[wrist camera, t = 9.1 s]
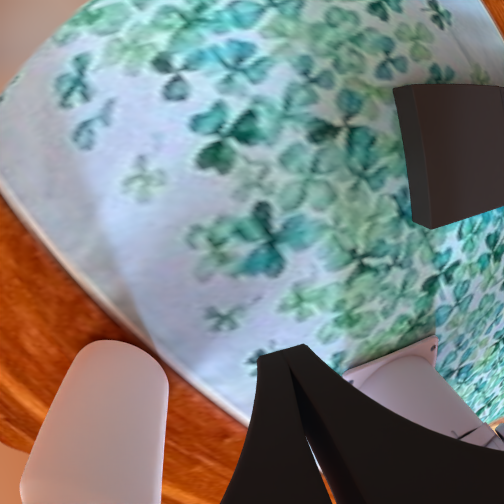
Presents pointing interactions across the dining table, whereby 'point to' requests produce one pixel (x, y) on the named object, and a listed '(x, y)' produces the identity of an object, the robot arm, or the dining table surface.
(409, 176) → the tab pad
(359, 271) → the dining table surface
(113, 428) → the can
